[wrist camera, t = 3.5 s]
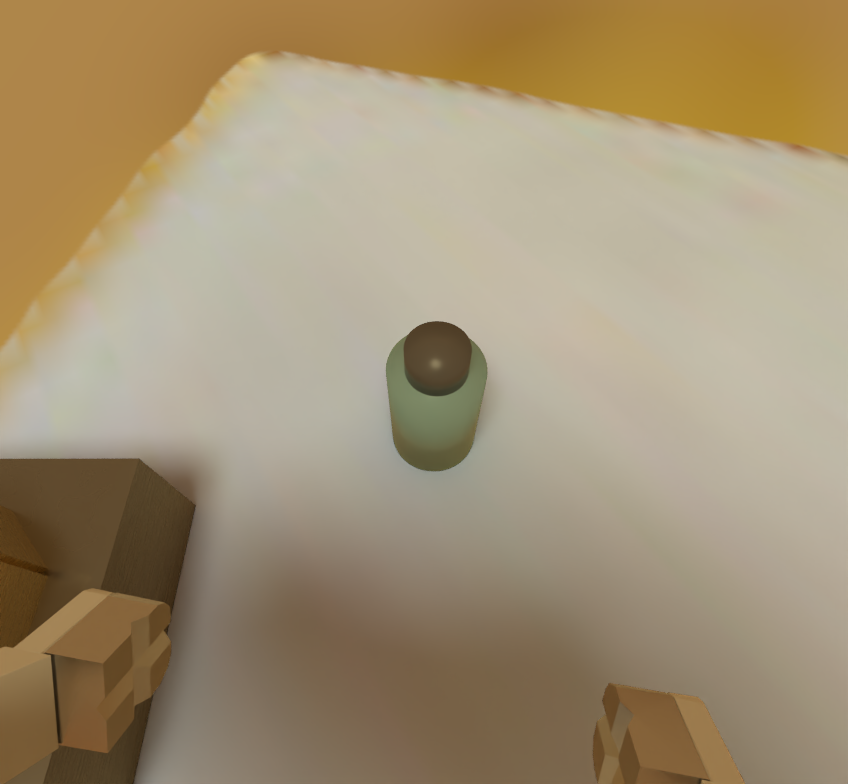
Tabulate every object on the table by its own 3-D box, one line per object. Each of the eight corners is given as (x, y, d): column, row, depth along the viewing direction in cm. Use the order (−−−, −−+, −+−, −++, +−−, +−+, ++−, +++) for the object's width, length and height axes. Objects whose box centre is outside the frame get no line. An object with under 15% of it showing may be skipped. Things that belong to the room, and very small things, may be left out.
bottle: (476, 471, 27) (495, 395, 20) (391, 471, 27) (381, 395, 20) (471, 398, 29) (487, 306, 22) (393, 398, 29) (385, 306, 22)
